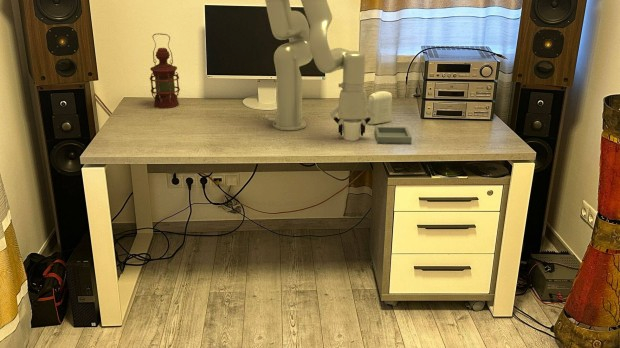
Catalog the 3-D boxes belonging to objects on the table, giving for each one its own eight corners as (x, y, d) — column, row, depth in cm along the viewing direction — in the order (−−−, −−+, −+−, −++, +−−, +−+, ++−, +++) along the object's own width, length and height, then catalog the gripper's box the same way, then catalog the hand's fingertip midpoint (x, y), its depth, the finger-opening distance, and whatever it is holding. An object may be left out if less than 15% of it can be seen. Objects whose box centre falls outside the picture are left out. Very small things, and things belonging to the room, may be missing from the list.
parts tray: (377, 143, 226) (377, 137, 225) (374, 133, 238) (374, 126, 237) (411, 144, 226) (411, 137, 226) (406, 133, 238) (406, 127, 237)
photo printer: (385, 118, 254) (387, 88, 250) (392, 121, 251) (394, 91, 246) (365, 123, 249) (366, 92, 244) (372, 125, 246) (373, 94, 241)
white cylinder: (355, 142, 228) (355, 123, 225) (338, 138, 231) (339, 120, 228) (364, 137, 233) (364, 118, 230) (347, 133, 236) (348, 115, 234)
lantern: (185, 102, 274) (181, 31, 262) (173, 110, 263) (168, 36, 251) (159, 100, 276) (153, 30, 265) (146, 107, 265) (140, 35, 254)
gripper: (328, 89, 221) (327, 137, 228) (378, 89, 221) (376, 138, 228) (328, 84, 228) (327, 131, 235) (376, 84, 228) (374, 131, 235)
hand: (351, 134), depth 231 cm, fingers open, 6 cm apart
